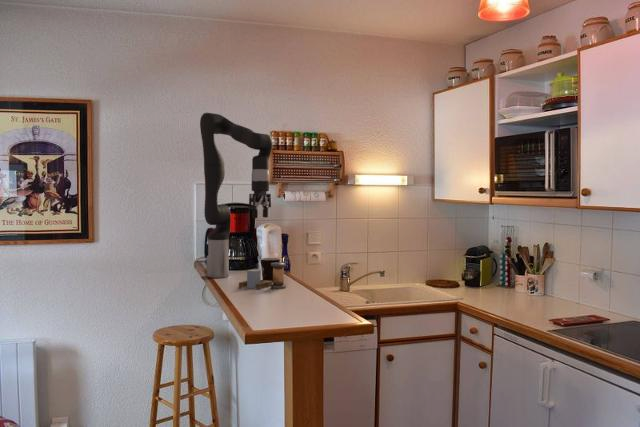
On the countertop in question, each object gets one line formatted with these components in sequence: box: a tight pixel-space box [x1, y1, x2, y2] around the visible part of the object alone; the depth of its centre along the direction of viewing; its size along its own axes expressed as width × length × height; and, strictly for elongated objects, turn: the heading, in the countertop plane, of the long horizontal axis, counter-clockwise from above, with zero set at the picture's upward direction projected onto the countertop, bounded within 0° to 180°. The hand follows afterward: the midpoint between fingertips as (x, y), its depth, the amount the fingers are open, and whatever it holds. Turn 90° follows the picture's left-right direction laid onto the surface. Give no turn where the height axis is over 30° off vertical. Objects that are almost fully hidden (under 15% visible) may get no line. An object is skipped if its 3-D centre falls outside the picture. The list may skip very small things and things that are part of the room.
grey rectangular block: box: [246, 269, 262, 289], centre depth 221 cm, size 4×4×7 cm
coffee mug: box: [260, 257, 281, 284], centre depth 237 cm, size 12×9×10 cm
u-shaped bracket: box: [238, 279, 273, 290], centre depth 222 cm, size 10×10×2 cm
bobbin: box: [270, 261, 287, 290], centre depth 220 cm, size 6×6×10 cm
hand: (260, 217), depth 231 cm, fingers open, 8 cm apart
